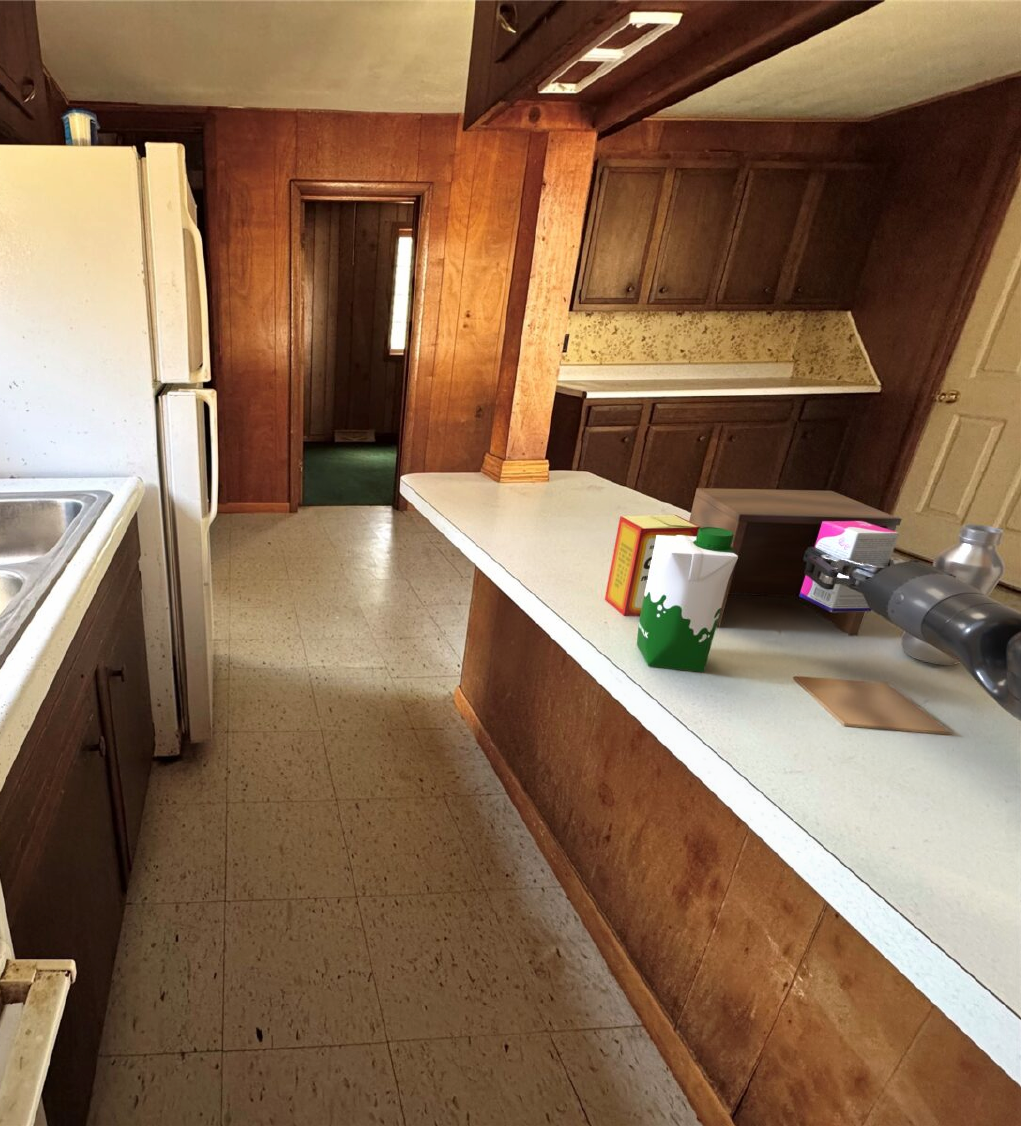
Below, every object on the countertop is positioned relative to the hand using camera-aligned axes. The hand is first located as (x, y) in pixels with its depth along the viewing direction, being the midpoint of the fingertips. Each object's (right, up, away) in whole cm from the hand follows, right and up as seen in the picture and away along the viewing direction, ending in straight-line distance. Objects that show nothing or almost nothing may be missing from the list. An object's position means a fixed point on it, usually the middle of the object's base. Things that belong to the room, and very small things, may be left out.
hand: (838, 554), depth 87 cm
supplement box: (0, -7, 0) cm, 7 cm away
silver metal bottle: (+16, -15, +3) cm, 22 cm away
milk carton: (-21, -16, +5) cm, 26 cm away
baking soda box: (-15, -9, +21) cm, 27 cm away
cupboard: (+3, -9, +18) cm, 21 cm away
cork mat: (-3, -20, -7) cm, 21 cm away
